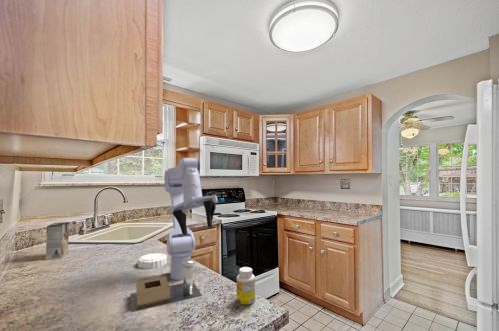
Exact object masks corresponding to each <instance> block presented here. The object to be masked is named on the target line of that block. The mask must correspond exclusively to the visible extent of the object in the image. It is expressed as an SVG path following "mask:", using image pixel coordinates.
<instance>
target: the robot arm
mask: <svg viewBox="0 0 499 331" xmlns="http://www.w3.org/2000/svg"><path fill="white" fill-rule="evenodd" d="M200 170H201V161H200V159H199V158H197V157H195V158H192V157H191V158H190V157H183V158H181V159H179V160H178V164H177V165H176V166H175V167H170V168H168V169H166V170H165V171H164V176H163V178H164V182H163V183H164V189H165V192H167V193H168V194H169V196H170V200H171V207H170V208H169V210H170V215H171V216H172V223H173V224H172V225H173V230H171V231H170V232H168V234H167V235H166V253H167V255H168V256H170V263H169V264H170V265H169V266H170V268H169V269H170V270H169V273H170V279H171V280H173V281H174V280H175V281H181V280H183V267H184V266H182V261H183V260H186V259H191V255H192V254H193V252H195V249H196V240H195V236H194V233H193V231H192V230H191V229H189V228H187V214H186V211H190V210H195V209H198V208H201V207H204V211H205V215H206V217H205V218H206V223H207V224H206V225H207V227H208V228H209V229H212V228H213V219H214V214H215V212H216V208H217V207H216V204H217V203H219V202H218V201H219V200H218V196H217V195H216V194H211V195H206V196H203V192H202V185H201V179H200V178H201V177H200V172H201V171H200Z"/></svg>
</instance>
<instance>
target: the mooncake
mask: <svg viewBox="0 0 499 331" xmlns="http://www.w3.org/2000/svg"><path fill="white" fill-rule="evenodd" d="M166 264H168V255H167V254H165V253H162V252H157V253H154V252H152V253H147V254H144V255H142V256H140V257H139V258H138V259H137V266H138V267H137V268H140V269H144V270H150V269H157V268H159V267H163V266H165V265H166Z"/></svg>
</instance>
